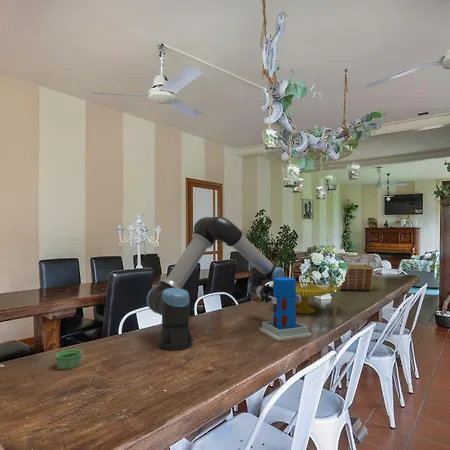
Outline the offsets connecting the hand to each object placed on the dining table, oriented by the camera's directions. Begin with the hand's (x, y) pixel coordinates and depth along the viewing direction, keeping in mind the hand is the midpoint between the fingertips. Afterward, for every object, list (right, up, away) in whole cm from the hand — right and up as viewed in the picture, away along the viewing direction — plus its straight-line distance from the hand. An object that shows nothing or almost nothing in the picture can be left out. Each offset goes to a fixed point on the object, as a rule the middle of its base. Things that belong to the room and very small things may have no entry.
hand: (288, 300), depth 168 cm
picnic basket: (+77, -19, +130) cm, 152 cm away
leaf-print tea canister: (-1, -16, +3) cm, 16 cm away
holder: (-1, -17, +3) cm, 17 cm away
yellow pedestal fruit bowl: (+19, -18, +51) cm, 57 cm away
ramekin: (-87, -16, -38) cm, 96 cm away
